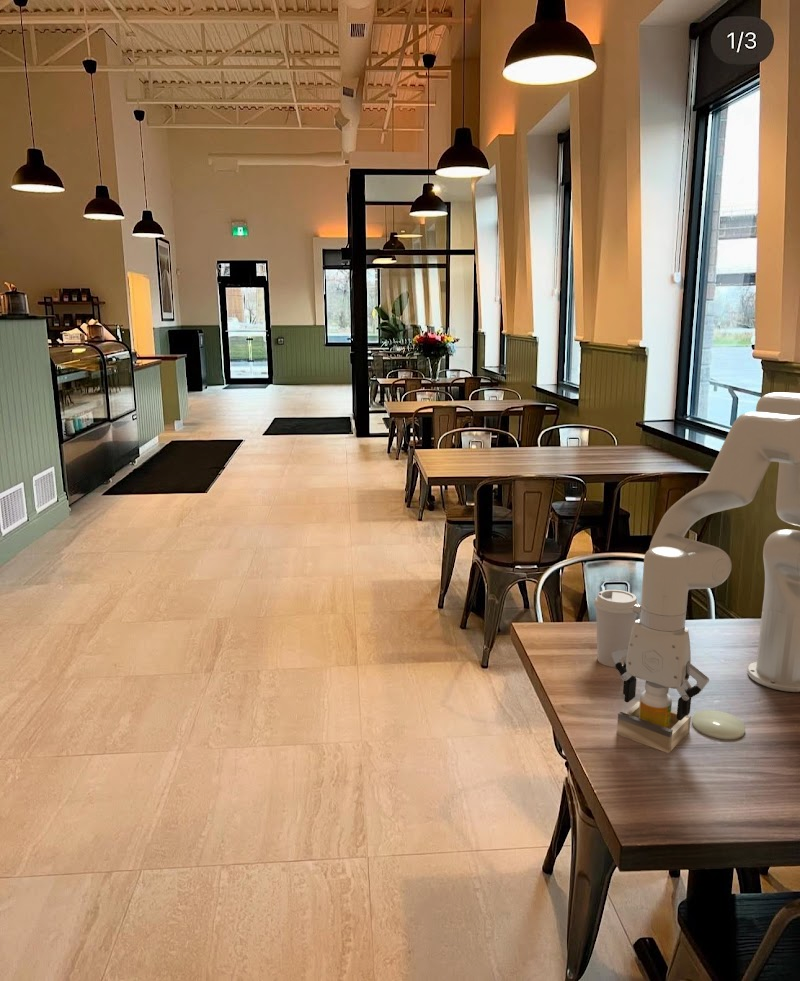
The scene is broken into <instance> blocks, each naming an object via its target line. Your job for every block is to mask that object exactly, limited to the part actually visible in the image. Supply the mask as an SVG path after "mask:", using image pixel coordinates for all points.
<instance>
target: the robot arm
mask: <svg viewBox="0 0 800 981" xmlns="http://www.w3.org/2000/svg"><path fill="white" fill-rule="evenodd" d="M772 462H774V463H778V471H777V472H778V473H777V484H776V485H777V486H776V496H775V497H776V499H775V510H776V515H777V518H779V519H780V520H781V521H783V522H784V523H787V524H789V525H793V526H796V527H800V392H788V391H786V392H784V391H783V392H781V391H779V392H778V391H777V392H769V393H767V394H764V395H762V396H761V397H760V398H759V399H758V401H757V403H756V407H755V411H748V412H746V413H745V412H744V413H742V414H740V415H739V416H738V417H737V418H736V419H735V420H734V422H733V423H732V425H731V427H730V429H729V432H728V433H727V435H726V438H725V440H724V442H723V444H722V446H721V448H720V451H719V453H718V454H717V457H716V459H715V461H714V463H713V465H712V467H711V469H710V471H709V473H708V475H707V477H706V479H705V481H704V482H703V483H702V484H700V485H699V486H697V487H696V488H694V489H692V490H691V491H689V492H687V493H685V495H683V496H682V497H681V498H680V499H679V500H677V501H676V502H675V503H673V505H671V506H670V507H669V508H668V510H666V512H665V513H664V514H663V516H662V518H661V520H660V521H659V524H658V525H657V527H656V530H655V533H654V534H653V537H652V538H651V541H650V545H649V548H648V550H647V551H646V552H645V554H644V558H643V567H642V568H643V571H642V580H641V581H642V582H641V584H642V586H641V594H640V595H641V596H640V604H639V605H634V607H633V612H636V613H637V615H638V619H636V620H635V622H634V625H633V629H632V632H631V637H630V641H629V647H628V648H624V649H619V650H615V651H614V652H612V654H611V655H612V657H613V660H614V663H615V664H616V665H615V667H614V668H615V669H616V670H617V672H618V673H619V674H620V677H621V680H622V681H623V687H622V688H623V689H622V694H623V695H624V700H623V702H625V703H629V702H631V701H632V700H633V699H634V698H635V697H636V690H637V678H638V679H640V680H644V681H645V682H646V681H649V682H652V683H655V684H658V685H662V686H665V687H668V688H669V689H672V690H673V689H676V690H677V692H678V694H679V696H680V697H679V698H678V699H677V708H676V709H677V710H676V712H677V719H678V720H680V721H681V720H682V719H683V718H684V717H685V716H686V715H687V716H690V712H691V704H692V698H694V697H695V696H697V695H699V694H700V693H701V692H702V691H703V689H704V688H705V687H706V686H707V684H708V683H709V682H710V678H709V677H708V676H707V675H706V674H704V673H703V672H702V671H701V670H699V669H698V668H697V667H695V666H694V665H693V664H692V662H691V661H692V660H691V656H692V655H691V641H690V640H691V638H690V632H689V629H688V627H686V618H687V616H686V615H687V606H688V595H689V594H688V593H689V591H690V590H701V589H703V590H704V589H706V590H707V589H712V588H713V589H714V588H716V587H718V586H720V585H722V584H723V583H724V582H726V580H728V578H729V576H730V574H731V572H732V567H733V566H732V560H731V558H730V556H729V554H727V552H726V551H724V550H723V549H721V548H720V547H717V546H716V545H711V544H709V543H705V542H704V543H703V542H701V541H699V540H698V541H697V540H695V539H690V538H686V537H685V536H686V534H687V532H688V531H689V530H690V528H692V526H694V524H695V523H696V522H698V521H699V520H701V519H702V518H705V517H707V516H709V515H711V514H715V513H718V512H719V513H720V512H724V511H727V510H733V509H735V508H741V507H744V506H747V505H749V504H750V503H751V502H753V500H754V499H755V496H756V494H757V492H758V489H759V488H760V485H761V483H762V481H763V479H764V477H765V475H766V473H767V470H768V468H769V466H770V464H771V463H772ZM762 560H763V565H764V566H763V567H764V568H763V569H764V590H763V591H764V592H763V601H762V610H761V618H760V631H759V638H758V648H757V656H756V661H754V662H752V663H749V665H748V666H747V670H746V671H747V675H748V676H749V677H750V679H751V680H752V681H755V683H757V684H759V685H762V686H764V687H766V688H769V689H773V690H777V691H783V692H788V693H789V692H792V693H799V692H800V530H798V529H797V530H796V529H792V528H791V529H790V528H789V529H788V528H787V529H786V528H785V529H777V530H776V531H774V532H772V533H770V534H769V536H767V538H766V540H765V542H764V544H763V550H762ZM625 656H627V660H626V663H625V662H624V661H623V658H622V657H625ZM690 677H691V678H692V679H694V680H695V681H696V684H695V685H694V686H692V685H691V683H690V682H689V679H690Z"/></svg>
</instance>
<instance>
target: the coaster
mask: <svg viewBox="0 0 800 981" xmlns="http://www.w3.org/2000/svg"><path fill="white" fill-rule="evenodd" d="M691 724H692V726H693V728H694V729H695V730H696V731H699V733H701V734H703V735H706V736H708V737H711V738H714V739H720V740H735V739H736V740H737V739H739V738H741V737H743V736H744V735H745V733H746V725H745V723H744V722H743V721H742V720H741V719H740V718H739V717H737V716H735V715H734V714H731V713H727V712H725V711H721V710H714V709H704V710H700V711H696V712H695V713H693V715H692V716H691Z"/></svg>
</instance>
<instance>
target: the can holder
mask: <svg viewBox="0 0 800 981" xmlns="http://www.w3.org/2000/svg"><path fill="white" fill-rule="evenodd" d="M639 706H640V699H639V700H638V701H637V702H635V704H633V705H632V706H631V707H630V708H629V709H627V710H626V712H624V711H623V712H622V711H620V712H619V713H617V727H616V735H619V736H620V737H624V738H626V739H629V740H631V741H634V742H637V743H640V744H643V745H645V746H648V747H650V748H653V749H656V750H659V751H662V752H663V753H667V754H670V753H671V751H673V749H674V748H675V747H676V746H677V745H678V744H679V743H680V742H681V741H682V740H683V739H684V738H685V737H686V736H687V735H688V734H689V733H690V729H691V722H692V716H691V715H688V716H687V715H686V716H685V717H684V718H683V719H682V720H681V721H680V720H678V719H677V710H673V709H671V717H670V729H669V728H666V727H663V726H660V725H657V724H654V723H652V722H649V721H646V720H643V719H640V718H639Z"/></svg>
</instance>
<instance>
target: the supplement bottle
mask: <svg viewBox="0 0 800 981" xmlns="http://www.w3.org/2000/svg"><path fill="white" fill-rule="evenodd" d="M669 690H670V688H668V687H665V686H662V685H658V684H655V683H652V682H649V681H646V680H645V684H644V690H643V691H642V692H641V693H640V696H639V700H640V706H639V718H640V719H643V720H646V721H649V722H652V723H654V724H657V725H660V726H663V727H666V728H669V729H671V728H670V717H671V710H672V703H673V699H672V696H671V695H670V694H669Z"/></svg>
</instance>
